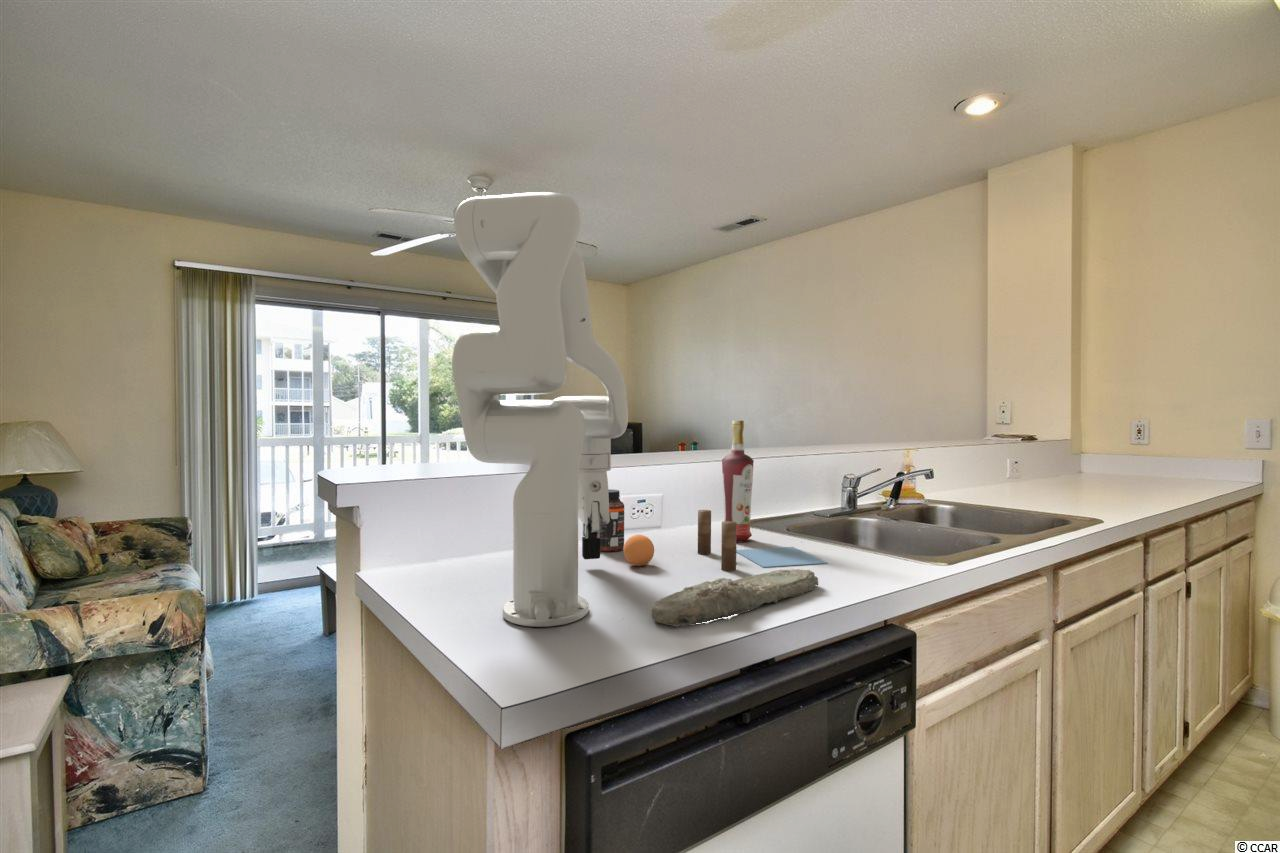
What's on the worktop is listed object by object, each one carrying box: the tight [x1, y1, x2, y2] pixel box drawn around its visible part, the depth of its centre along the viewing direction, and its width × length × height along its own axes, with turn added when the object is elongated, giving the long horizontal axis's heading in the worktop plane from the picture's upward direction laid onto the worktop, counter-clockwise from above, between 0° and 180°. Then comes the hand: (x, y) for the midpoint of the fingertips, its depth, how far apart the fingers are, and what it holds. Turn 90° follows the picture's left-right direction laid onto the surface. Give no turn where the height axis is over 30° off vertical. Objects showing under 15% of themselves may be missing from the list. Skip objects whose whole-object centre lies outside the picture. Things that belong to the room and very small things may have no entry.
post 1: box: [697, 509, 712, 556], centre depth 125 cm, size 3×3×9 cm
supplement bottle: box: [600, 488, 625, 553], centre depth 128 cm, size 7×7×13 cm
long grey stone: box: [650, 568, 819, 627], centre depth 93 cm, size 35×5×10 cm
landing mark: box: [736, 546, 829, 568], centre depth 122 cm, size 14×14×1 cm
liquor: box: [721, 420, 754, 543], centre depth 138 cm, size 7×7×28 cm
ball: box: [623, 534, 655, 567], centre depth 115 cm, size 6×6×6 cm
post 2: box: [720, 520, 737, 572], centre depth 112 cm, size 3×3×9 cm
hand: (591, 557), depth 113 cm, fingers closed
